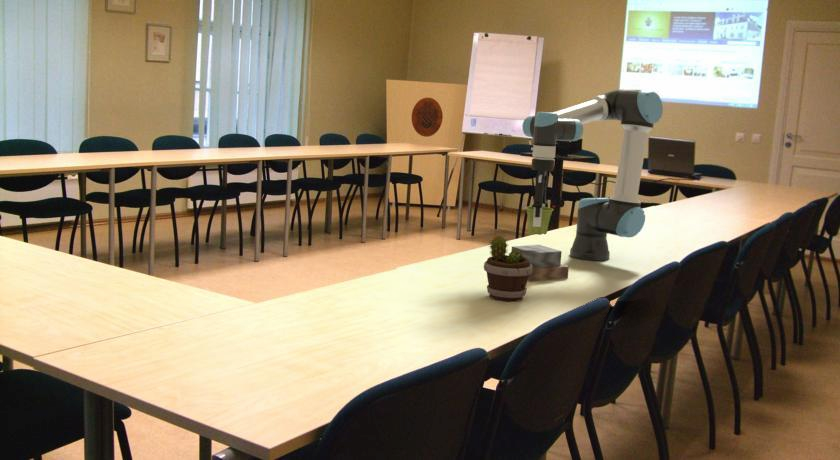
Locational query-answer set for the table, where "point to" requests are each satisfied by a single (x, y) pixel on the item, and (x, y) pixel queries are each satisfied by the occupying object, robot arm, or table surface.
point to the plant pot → (544, 221)
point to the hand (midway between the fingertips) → (538, 224)
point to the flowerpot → (506, 272)
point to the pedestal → (544, 262)
